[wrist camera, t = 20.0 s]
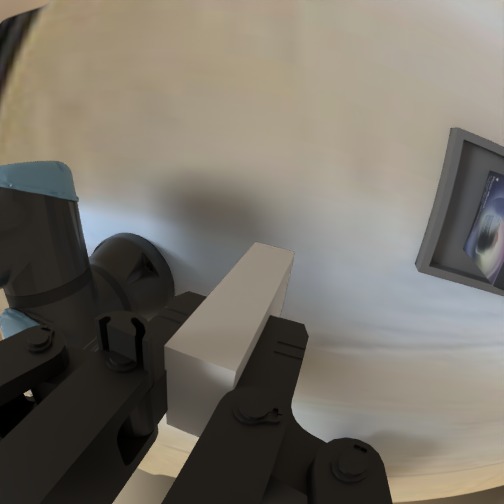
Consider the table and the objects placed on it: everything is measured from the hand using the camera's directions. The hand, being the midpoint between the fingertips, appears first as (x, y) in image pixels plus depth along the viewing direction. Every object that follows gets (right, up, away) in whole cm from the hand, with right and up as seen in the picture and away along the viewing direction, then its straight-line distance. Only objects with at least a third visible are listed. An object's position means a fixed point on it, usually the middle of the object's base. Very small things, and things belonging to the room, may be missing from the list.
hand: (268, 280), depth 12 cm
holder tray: (+29, +5, +18) cm, 34 cm away
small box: (+29, +5, +18) cm, 34 cm away
